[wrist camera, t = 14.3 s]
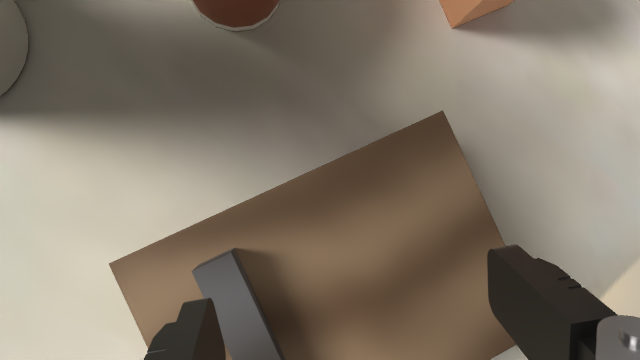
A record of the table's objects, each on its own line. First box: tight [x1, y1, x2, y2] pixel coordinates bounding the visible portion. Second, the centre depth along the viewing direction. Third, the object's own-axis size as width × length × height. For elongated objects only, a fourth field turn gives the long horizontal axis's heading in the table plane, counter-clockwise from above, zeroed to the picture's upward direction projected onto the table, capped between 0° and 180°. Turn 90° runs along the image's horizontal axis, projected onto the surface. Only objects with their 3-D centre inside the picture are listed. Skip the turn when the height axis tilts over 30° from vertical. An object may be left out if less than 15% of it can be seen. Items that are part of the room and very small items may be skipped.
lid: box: [109, 111, 516, 360], centre depth 23 cm, size 14×20×4 cm
